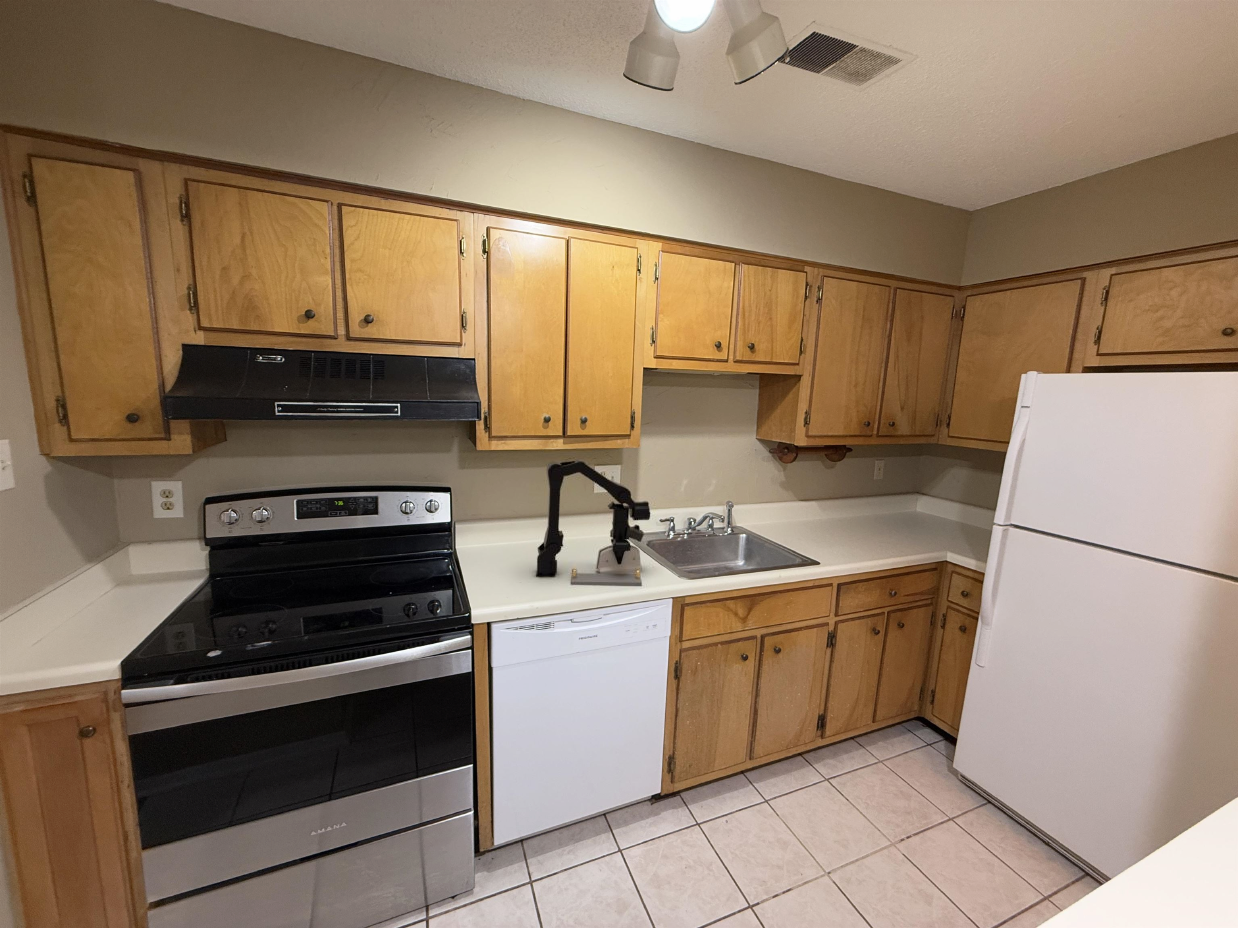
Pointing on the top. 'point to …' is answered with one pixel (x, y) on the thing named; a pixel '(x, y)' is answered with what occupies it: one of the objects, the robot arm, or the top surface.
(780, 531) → the top surface
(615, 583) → the plate
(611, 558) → the curved beige panel
